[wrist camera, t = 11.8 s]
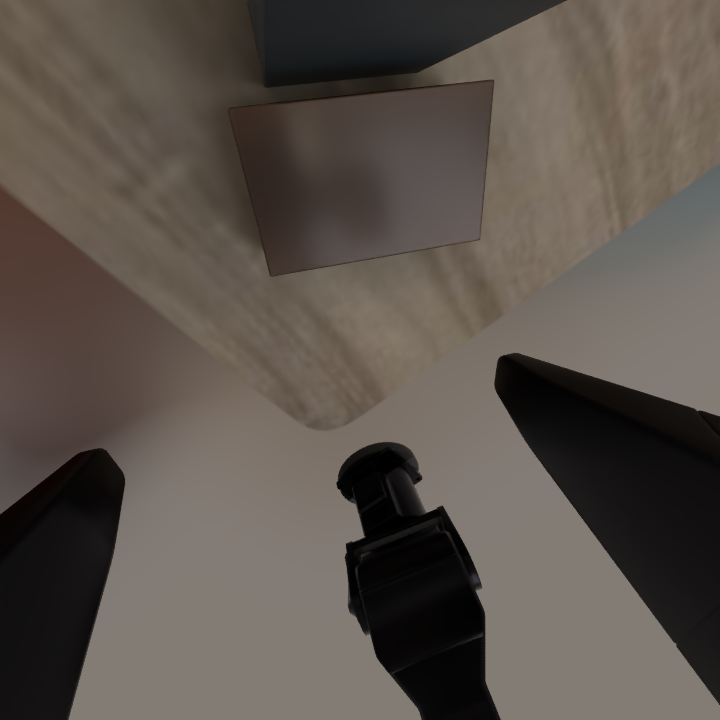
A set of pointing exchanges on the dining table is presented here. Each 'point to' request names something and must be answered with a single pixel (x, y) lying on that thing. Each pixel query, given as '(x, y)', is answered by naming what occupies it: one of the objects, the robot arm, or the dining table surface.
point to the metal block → (365, 172)
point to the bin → (373, 35)
